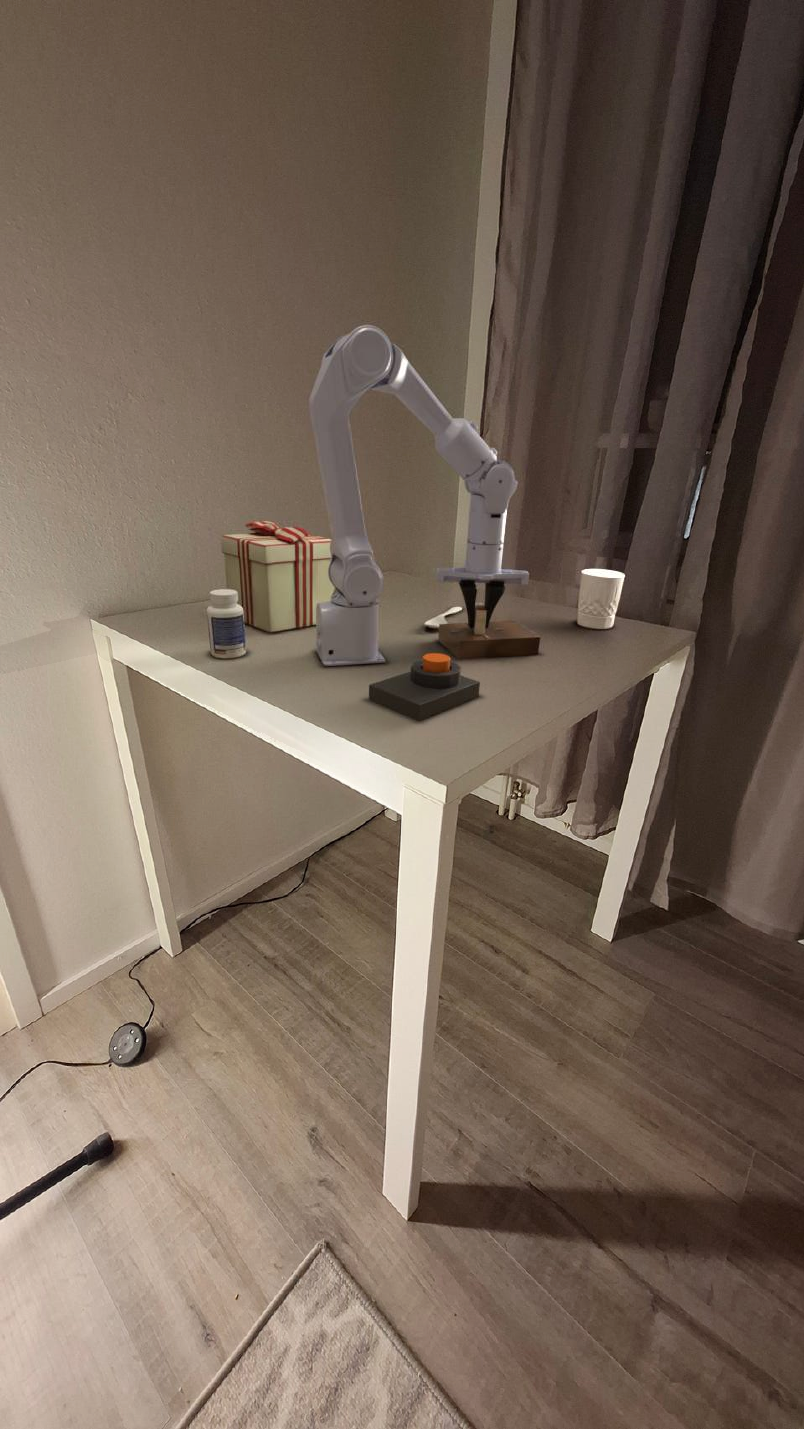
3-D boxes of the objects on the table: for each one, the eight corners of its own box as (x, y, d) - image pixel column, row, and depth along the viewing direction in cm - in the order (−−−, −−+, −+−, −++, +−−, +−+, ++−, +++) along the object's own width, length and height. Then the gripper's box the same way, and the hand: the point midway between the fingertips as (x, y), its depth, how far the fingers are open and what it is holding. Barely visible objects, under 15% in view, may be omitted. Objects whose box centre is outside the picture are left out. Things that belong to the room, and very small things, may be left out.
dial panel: (458, 659, 97) (460, 640, 96) (438, 640, 106) (439, 623, 105) (538, 654, 101) (540, 635, 100) (512, 636, 110) (513, 619, 109)
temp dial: (470, 626, 104) (473, 601, 102) (480, 626, 104) (482, 601, 103) (474, 634, 100) (476, 608, 98) (484, 634, 100) (486, 609, 98)
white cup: (582, 617, 125) (590, 567, 121) (621, 624, 121) (630, 572, 116) (567, 624, 119) (575, 572, 115) (607, 632, 115) (617, 579, 111)
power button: (437, 676, 80) (438, 663, 79) (416, 669, 82) (417, 656, 81) (454, 670, 82) (455, 657, 81) (434, 663, 84) (435, 651, 83)
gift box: (352, 618, 118) (352, 524, 111) (274, 636, 105) (269, 532, 98) (294, 601, 128) (291, 515, 121) (217, 617, 115) (209, 521, 108)
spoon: (418, 631, 111) (419, 622, 110) (449, 606, 129) (449, 598, 128) (440, 634, 110) (441, 625, 109) (468, 608, 128) (469, 601, 127)
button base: (418, 721, 75) (420, 691, 74) (368, 700, 81) (368, 671, 79) (478, 696, 83) (481, 669, 82) (429, 679, 89) (430, 652, 87)
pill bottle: (253, 654, 96) (249, 592, 92) (223, 661, 92) (217, 597, 89) (234, 646, 99) (229, 586, 96) (204, 653, 96) (197, 591, 92)
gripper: (441, 544, 92) (435, 632, 98) (536, 547, 93) (526, 634, 98) (437, 537, 99) (433, 620, 104) (527, 540, 99) (517, 622, 105)
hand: (477, 626), depth 102 cm, fingers closed
